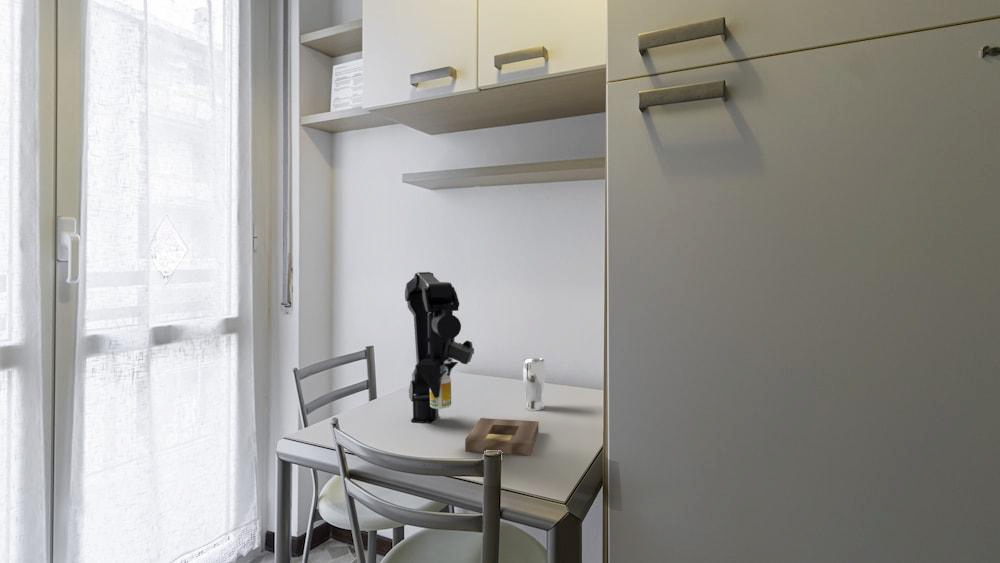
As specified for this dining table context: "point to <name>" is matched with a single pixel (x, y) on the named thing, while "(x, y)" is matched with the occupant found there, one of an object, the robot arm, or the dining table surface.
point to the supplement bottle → (442, 393)
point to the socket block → (503, 436)
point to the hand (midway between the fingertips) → (440, 394)
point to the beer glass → (534, 383)
